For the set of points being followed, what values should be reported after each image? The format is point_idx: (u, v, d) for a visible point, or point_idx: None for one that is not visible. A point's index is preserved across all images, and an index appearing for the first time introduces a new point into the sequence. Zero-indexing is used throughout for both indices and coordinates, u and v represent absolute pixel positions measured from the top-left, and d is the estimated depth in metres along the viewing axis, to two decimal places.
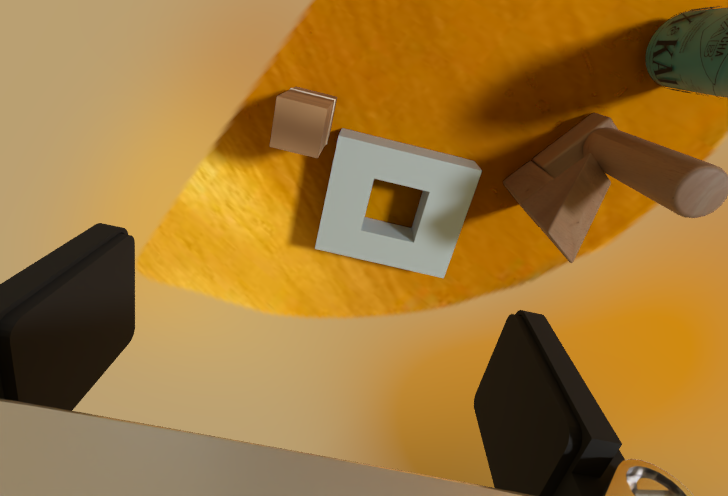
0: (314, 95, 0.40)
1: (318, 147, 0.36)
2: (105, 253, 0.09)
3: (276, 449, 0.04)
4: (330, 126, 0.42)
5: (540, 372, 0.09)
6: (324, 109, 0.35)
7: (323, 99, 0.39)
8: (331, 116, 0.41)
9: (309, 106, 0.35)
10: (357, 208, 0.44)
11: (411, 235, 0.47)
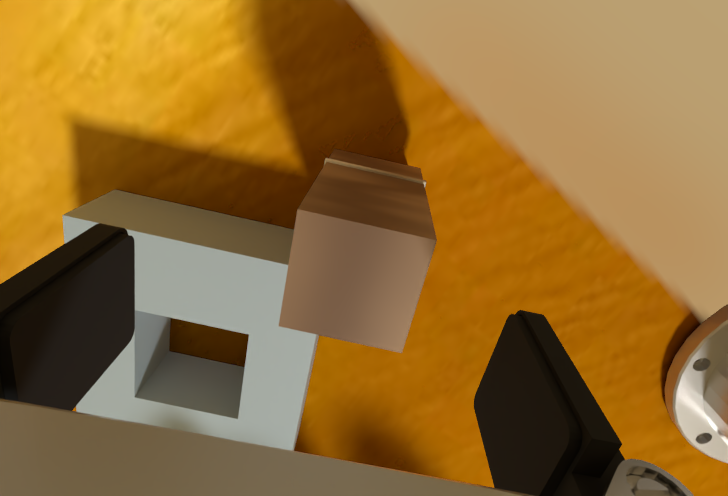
0: None
1: (306, 329, 0.14)
2: (105, 253, 0.09)
3: (276, 449, 0.04)
4: None
5: (540, 372, 0.09)
6: (400, 347, 0.14)
7: None
8: None
9: (407, 317, 0.14)
10: (179, 303, 0.21)
11: (151, 372, 0.25)
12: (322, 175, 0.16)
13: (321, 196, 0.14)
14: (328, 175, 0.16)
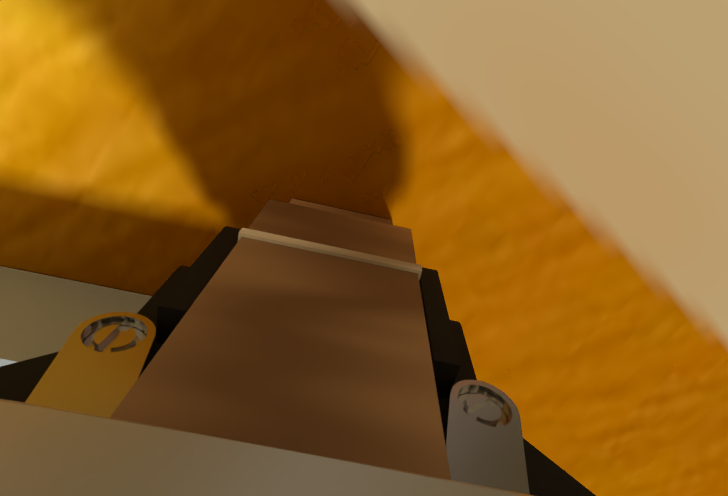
0: None
1: None
2: None
3: (276, 449, 0.04)
4: None
5: None
6: None
7: None
8: None
9: None
10: None
11: None
12: (216, 283, 0.08)
13: (182, 372, 0.06)
14: (230, 280, 0.08)
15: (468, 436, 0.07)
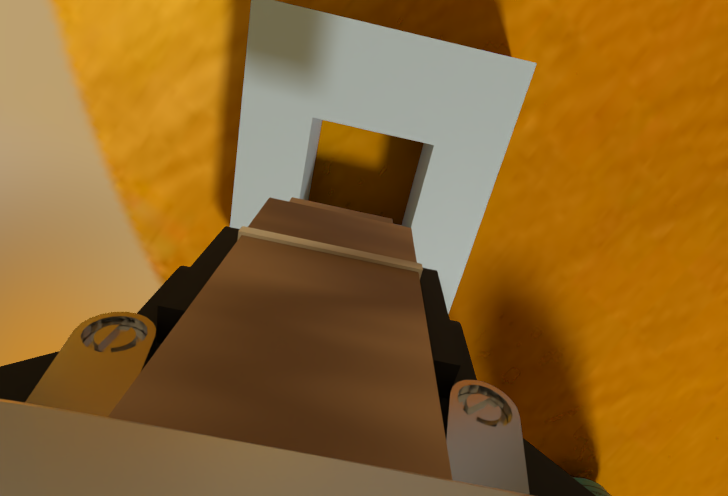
0: None
1: None
2: None
3: (276, 449, 0.04)
4: None
5: None
6: None
7: None
8: None
9: None
10: (364, 107, 0.19)
11: None
12: (216, 281, 0.08)
13: (181, 371, 0.06)
14: (230, 279, 0.08)
15: (468, 436, 0.07)
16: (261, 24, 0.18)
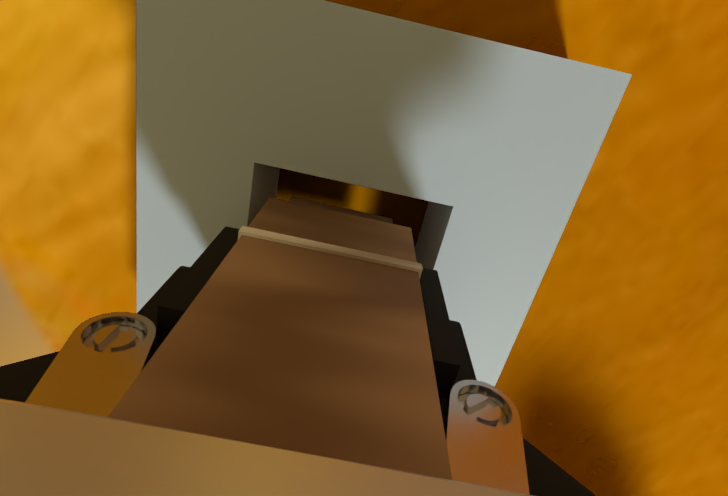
0: None
1: None
2: None
3: (276, 449, 0.04)
4: None
5: None
6: None
7: None
8: None
9: None
10: (338, 147, 0.12)
11: None
12: (216, 281, 0.08)
13: (181, 370, 0.06)
14: (230, 278, 0.08)
15: (468, 436, 0.07)
16: (157, 7, 0.11)
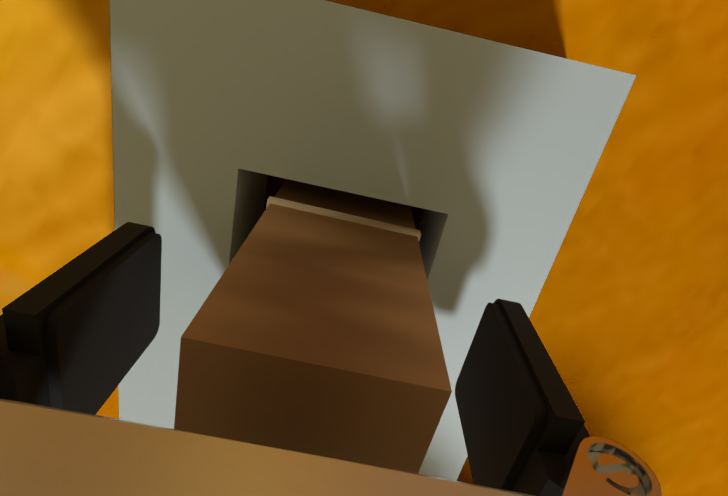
0: None
1: None
2: (137, 250, 0.09)
3: (276, 449, 0.04)
4: None
5: (512, 356, 0.09)
6: None
7: None
8: None
9: None
10: (327, 152, 0.11)
11: None
12: (256, 234, 0.10)
13: (241, 290, 0.08)
14: (266, 233, 0.10)
15: (591, 492, 0.06)
16: (132, 4, 0.10)
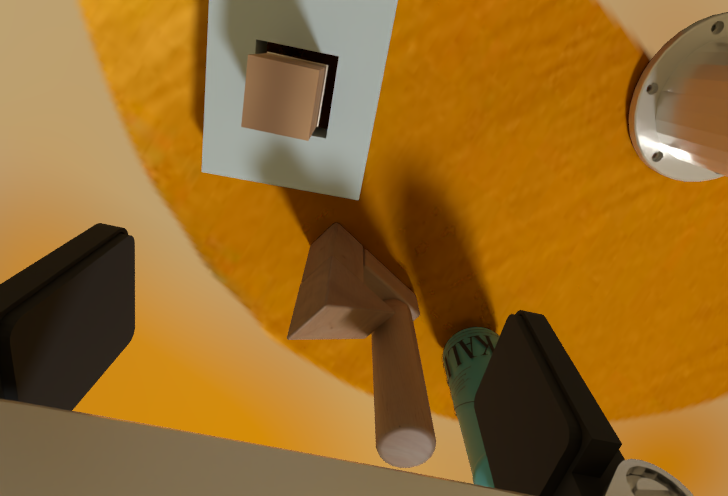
0: (321, 99, 0.31)
1: (256, 128, 0.26)
2: (105, 253, 0.09)
3: (276, 449, 0.04)
4: None
5: (540, 372, 0.09)
6: (307, 137, 0.26)
7: (317, 115, 0.30)
8: None
9: (309, 117, 0.26)
10: (290, 31, 0.29)
11: None
12: (264, 54, 0.28)
13: (261, 55, 0.26)
14: (267, 54, 0.28)
15: None
16: None
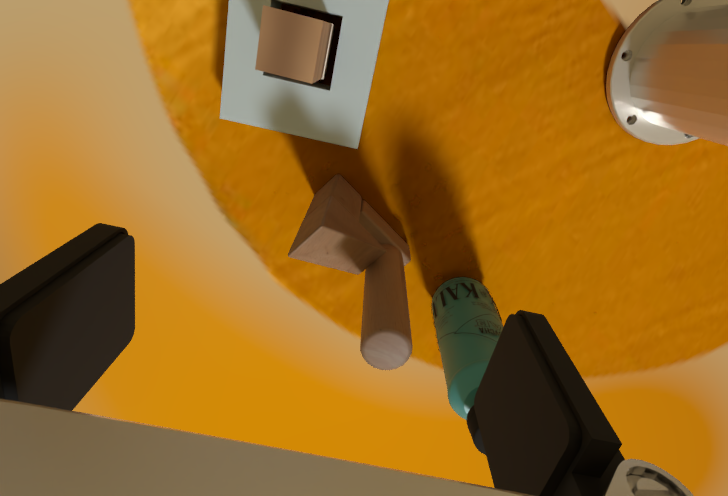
0: (326, 54, 0.35)
1: (268, 71, 0.30)
2: (105, 253, 0.09)
3: (276, 449, 0.04)
4: None
5: (540, 372, 0.09)
6: (311, 80, 0.31)
7: (322, 67, 0.34)
8: None
9: (313, 62, 0.30)
10: None
11: None
12: None
13: None
14: None
15: None
16: None
